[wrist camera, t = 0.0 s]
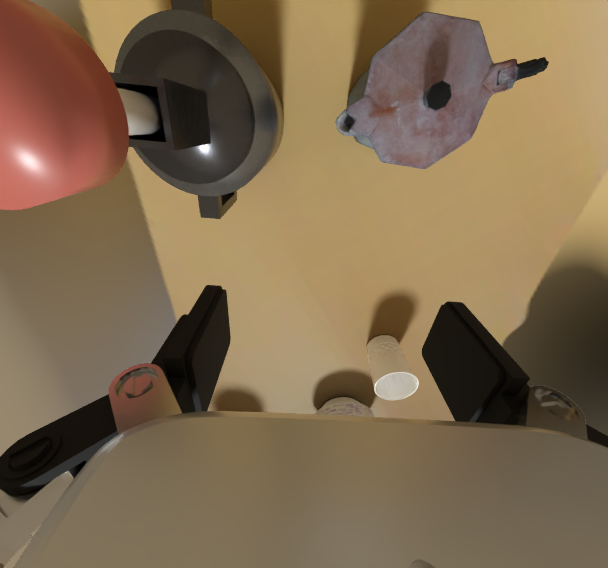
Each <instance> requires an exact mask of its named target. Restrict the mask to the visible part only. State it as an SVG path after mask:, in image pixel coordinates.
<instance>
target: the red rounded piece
mask: <svg viewBox="0 0 608 568" xmlns="http://www.w3.org/2000/svg"><path fill="white" fill-rule="evenodd" d="M163 131H164V126H163V120H162V114H161V108H160V102H159V99H158V98H157V97H155V96H153V95H150V94H146V93H140V92H135V91H130V90H125V89H120V88H117V87H116V85H115V83H114V81H113V79H112V77H111V76H110V74H109V72H108V71H107V69H106V67H105V66H104V64H103V63H102V61H101V60H100V59H99V57H98V56H97V55H96V53H95V52H94V51H93V50H92V48H91V47H90V46H89V45H88V44H87V43H86V42H85V41H84V39H83V38H82V37H81V36H79V35H78V34H77V33H76V32H75V31H74V30H73V29H72V28H71V27H70V26H69V25H67V24H66V23H65V22H63V21H62V20H61V19H60V18H59V17H57V16H55V15H54V14H52V13H51V12H49V11H48V10H46V9H45V8H43V7H40V6H38V5H37V4H35V3H33V2H30V1H28V0H0V209H2V210H19V209H26V208H29V207H33V206H36V205H40V204H43V203H46V202H50V201H53V200H56V199H59V198H63V197H66V196H70V195H73V194H76V193H79V192H83V191H86V190H89V189H93V188H96V187H99V186H102V185H104V184H106V183H108V182H109V181H110V180H112V179H113V178H114V177H115V176H116V175H117V174H118V173H119V171H120V169H121V168H122V166H123V164H124V162H125V159H126V157H127V152H128V146H129V135H143V134H158V133H162V132H163Z"/></svg>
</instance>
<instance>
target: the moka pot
mask: <svg viewBox="0 0 608 568" xmlns="http://www.w3.org/2000/svg"><path fill="white" fill-rule="evenodd" d="M548 63H549V62H548V61H546V58H545V57H543V58H540V59H538V60H537V59H534V60H530V61H527V62H523V63H520V64H517V60H516V59H511V60H508V61H504V62H501V63H495V64H494V63H493V61H492V59H491V56H490V54H489V51H488V47H487V44H486V40H485V37H484V34H483V31H482V28H481V25H480V22H479V21H476V20H471V19H465V18H459V17H453V16H448V15H443V14H438V13H432V12H422V13H421V14H419V15H418V16H417V17H416V18H415V19H414V20H413V21H412V22H411V23H409V24H408V25H407V26H406V27H405V28H404V29H403V30H402V31H400V32H399V33H398V34H397V35H396V36H395V37H394V38H393V39H391V40H390V41H389V42H388V43H387V44H386V45H385V46H384V47H382V48H381V49H380V50H379V51H378V52H377V53H376V54H375V55H374V56H373V57H372V58H371V62H370V65H369V69H368V71H366V72H365V73H364V74H363V75H362V76H361V77H360V79H359V80H358V82H357V83H356V84H355V86H354V87H353V89H352V90H351V92H350V94H349V96H348V102H347V109H346V110H344V111H343V112H342V113H341V114H340V115H339V116H338V118H337V120H336V125H337V130H338V131H339V132H340V133H341V134H343V135H346V136H354V138H355V139H356V141H357V142H359V143H360V144H363V145H365V146H367V147H370V148H372V149H374V150H375V152H376V154H377V156H378V157H379V159H380V161H381V162H384V163H390V164H396V165H403V166H409V167H415V168H420V169H426V168H428V167H429V166H431V165H432V164H434V163H436V162H437V161H439V160H440V159H442V158H443V157H445V156H446V155H448V154H449V153H451V152H452V151H454V150H455V149H457V148H458V147H460V146H461V145H463V144H464V143H466V142H467V141H468V140H470V139H471V137H472V136H473V134H474V132H475V130H476V128H477V125H478V123H479V120H480V118H481V116H482V114H483V111H484V109H485V106H486V104H487V102H488V100H489V98H490V97H491V96H492V95H493V94H495V93H498V92H502V91H505V90H508V89H510V88H512V87H513V84H514V82H515V81H517V80H519V79H522V78H526V77H530V76H533V75H536V74H537V73H539V72H542V71H544V70H545V69H546V68H547V65H548Z"/></svg>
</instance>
